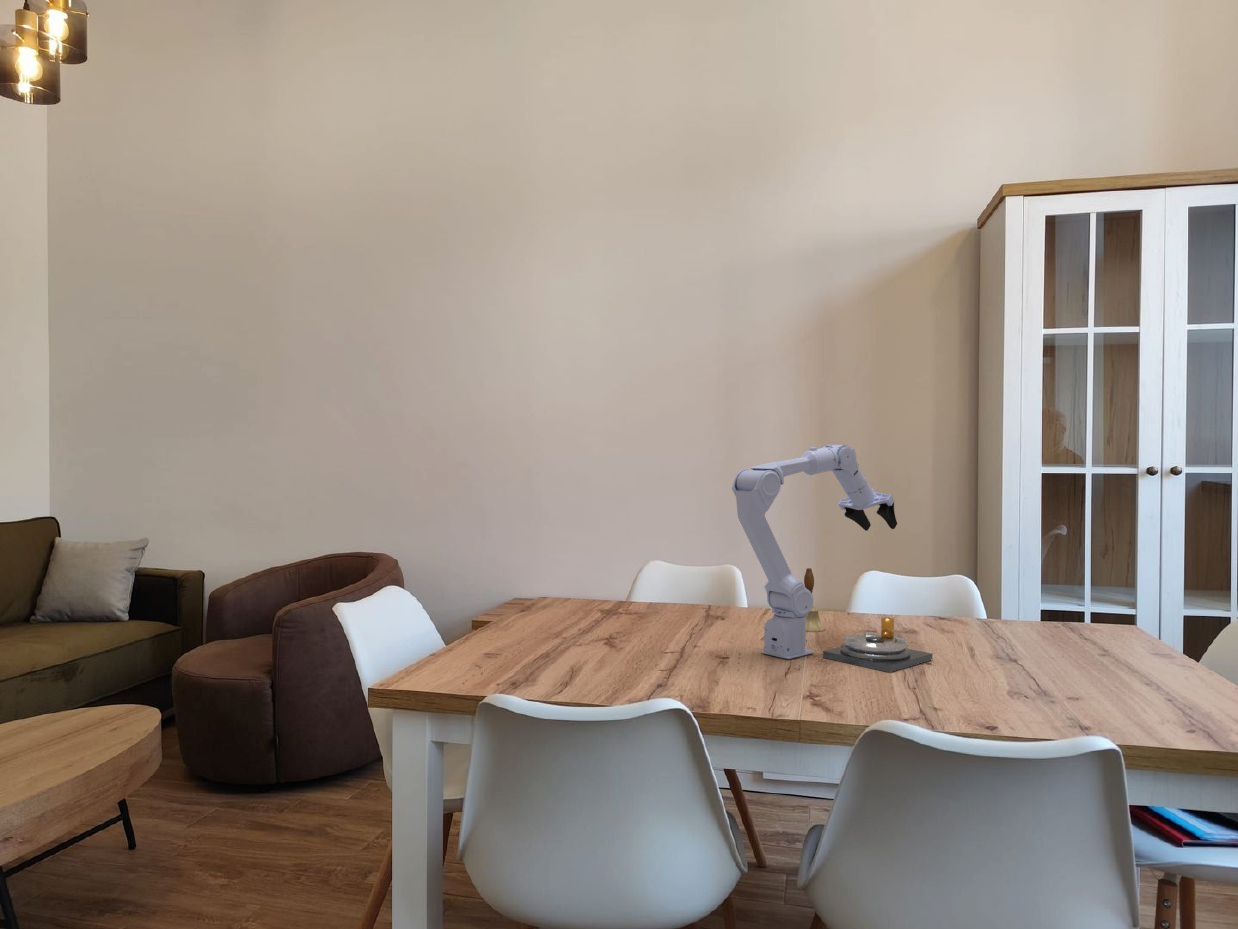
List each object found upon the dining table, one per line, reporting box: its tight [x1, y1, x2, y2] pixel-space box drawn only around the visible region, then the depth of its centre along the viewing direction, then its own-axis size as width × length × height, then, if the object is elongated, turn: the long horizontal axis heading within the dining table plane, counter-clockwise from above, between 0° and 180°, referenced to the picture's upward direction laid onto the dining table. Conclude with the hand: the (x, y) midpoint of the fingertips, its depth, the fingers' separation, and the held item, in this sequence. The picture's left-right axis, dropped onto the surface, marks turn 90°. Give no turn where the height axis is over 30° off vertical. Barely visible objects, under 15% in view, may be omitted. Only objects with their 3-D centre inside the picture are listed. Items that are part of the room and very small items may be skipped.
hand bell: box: [803, 567, 826, 633], centre depth 223 cm, size 8×8×16 cm
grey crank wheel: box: [844, 616, 907, 654], centre depth 189 cm, size 13×13×6 cm
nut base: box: [822, 642, 933, 674], centre depth 190 cm, size 17×17×3 cm
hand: (881, 527), depth 209 cm, fingers open, 7 cm apart
